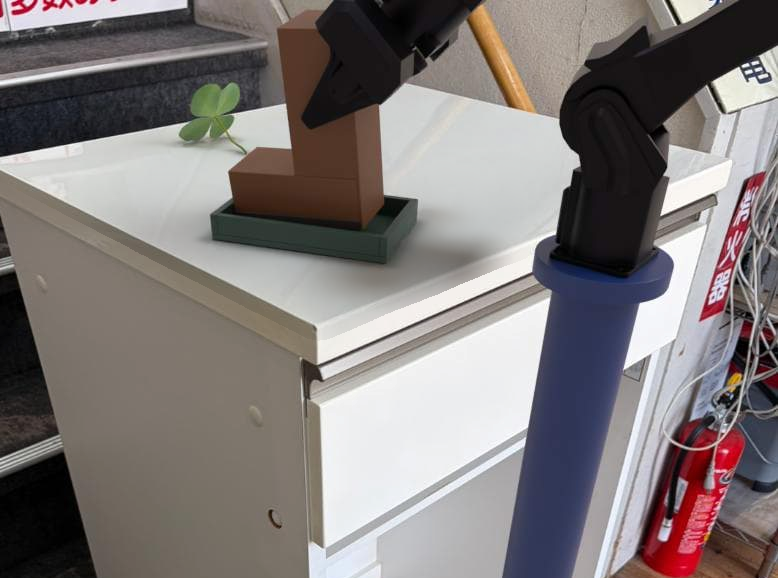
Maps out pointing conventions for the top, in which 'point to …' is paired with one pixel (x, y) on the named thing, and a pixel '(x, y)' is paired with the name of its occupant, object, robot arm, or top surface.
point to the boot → (313, 150)
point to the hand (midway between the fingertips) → (318, 114)
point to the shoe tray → (323, 232)
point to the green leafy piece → (212, 112)
